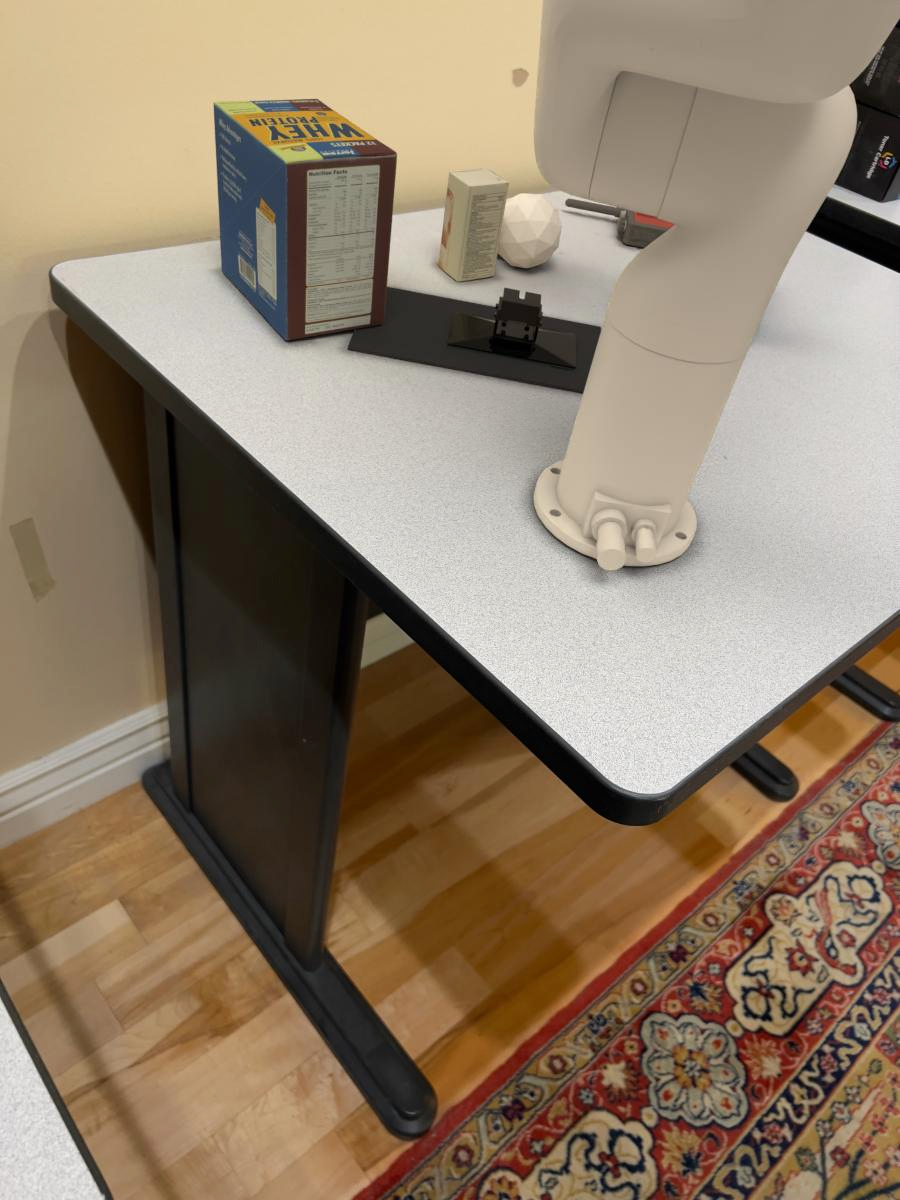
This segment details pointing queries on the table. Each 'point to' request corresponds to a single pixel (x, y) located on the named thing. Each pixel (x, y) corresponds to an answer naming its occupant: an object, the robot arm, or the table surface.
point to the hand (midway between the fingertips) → (712, 155)
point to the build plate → (514, 333)
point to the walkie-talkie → (628, 222)
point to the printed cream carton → (472, 223)
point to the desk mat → (422, 337)
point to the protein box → (304, 214)
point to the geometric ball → (529, 230)
